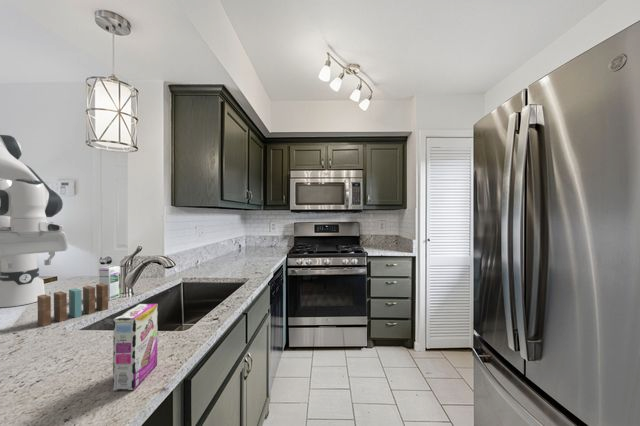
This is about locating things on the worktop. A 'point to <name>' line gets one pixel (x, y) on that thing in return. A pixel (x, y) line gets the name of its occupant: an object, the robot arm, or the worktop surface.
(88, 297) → the domino
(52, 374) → the worktop surface
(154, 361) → the candy bar box
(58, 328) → the worktop surface
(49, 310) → the domino
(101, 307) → the domino
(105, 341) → the worktop surface
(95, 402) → the worktop surface
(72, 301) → the domino
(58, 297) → the domino
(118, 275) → the syrup box
